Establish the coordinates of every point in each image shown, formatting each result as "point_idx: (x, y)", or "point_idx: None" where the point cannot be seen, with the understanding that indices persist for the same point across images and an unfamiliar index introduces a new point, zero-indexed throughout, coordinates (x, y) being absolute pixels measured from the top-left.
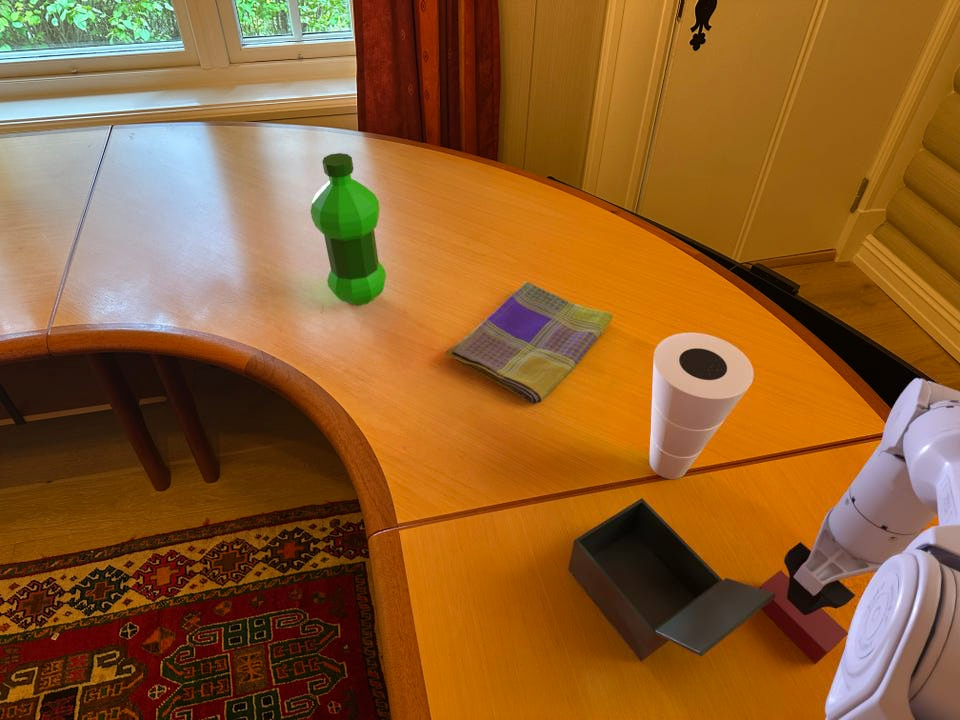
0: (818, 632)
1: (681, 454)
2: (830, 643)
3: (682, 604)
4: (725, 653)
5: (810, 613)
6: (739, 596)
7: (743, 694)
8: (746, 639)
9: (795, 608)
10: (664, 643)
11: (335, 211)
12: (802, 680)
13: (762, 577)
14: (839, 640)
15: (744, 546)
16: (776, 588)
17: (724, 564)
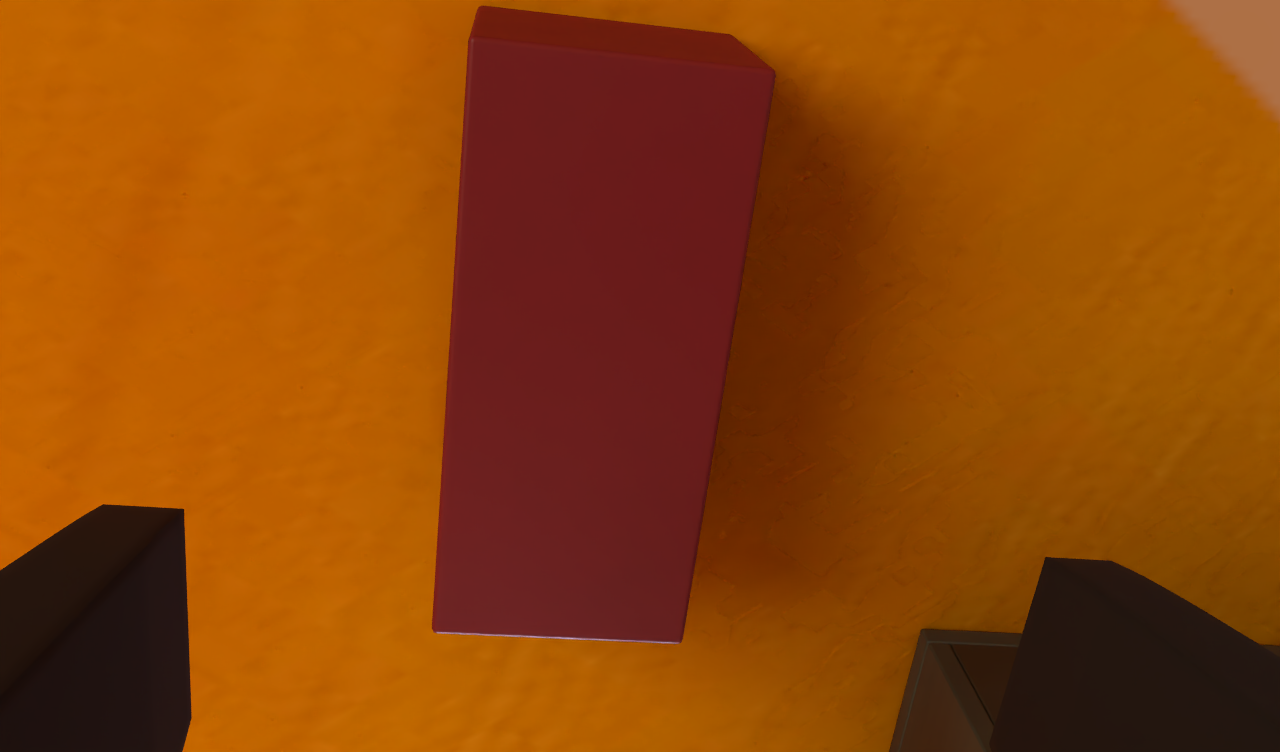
0: (671, 202)
1: None
2: (683, 91)
3: None
4: (1083, 429)
5: (1181, 598)
6: None
7: (1240, 229)
8: (914, 405)
9: (629, 412)
10: (1276, 654)
11: None
12: (901, 34)
13: None
14: (599, 55)
15: (366, 745)
16: (600, 575)
17: (580, 738)
